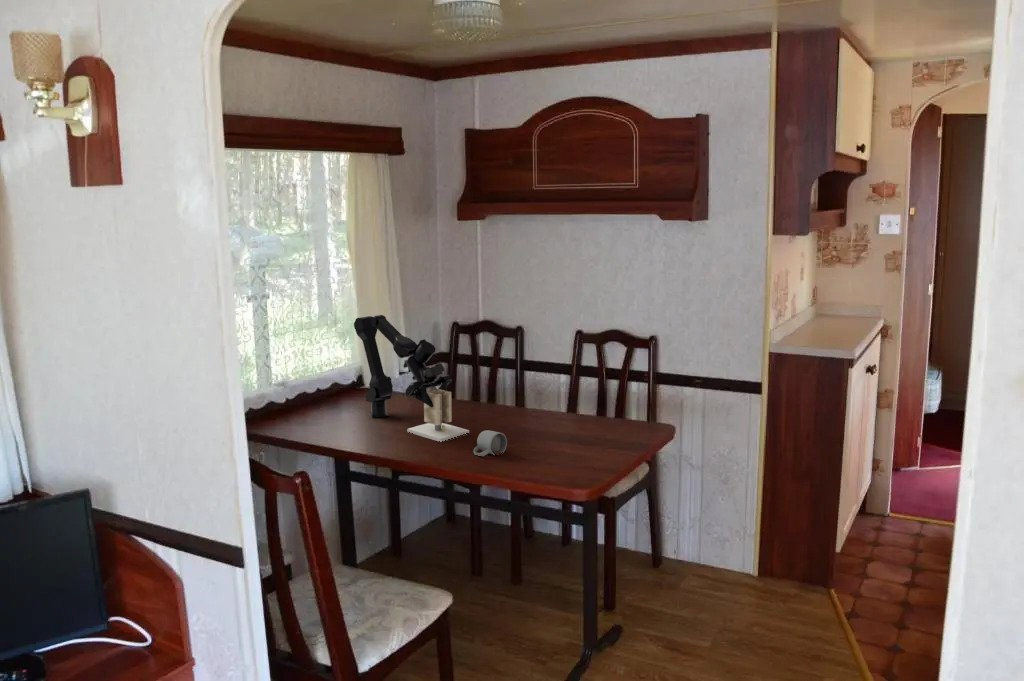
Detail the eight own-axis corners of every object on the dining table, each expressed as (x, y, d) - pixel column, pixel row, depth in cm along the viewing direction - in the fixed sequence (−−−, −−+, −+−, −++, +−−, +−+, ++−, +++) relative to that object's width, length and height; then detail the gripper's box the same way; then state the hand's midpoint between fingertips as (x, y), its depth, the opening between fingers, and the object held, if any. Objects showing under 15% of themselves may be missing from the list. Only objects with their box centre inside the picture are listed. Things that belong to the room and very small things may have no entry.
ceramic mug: (491, 447, 293) (491, 426, 292) (507, 452, 287) (507, 431, 286) (468, 454, 286) (467, 432, 284) (484, 460, 280) (483, 438, 279)
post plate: (407, 432, 311) (406, 418, 310) (435, 424, 321) (435, 410, 320) (441, 442, 299) (440, 427, 298) (469, 433, 309) (469, 419, 308)
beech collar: (424, 421, 309) (423, 392, 307) (438, 417, 314) (438, 388, 312) (437, 425, 304) (437, 395, 302) (451, 421, 309) (451, 392, 307)
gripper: (409, 361, 300) (431, 396, 295) (448, 353, 314) (469, 387, 309) (395, 379, 307) (416, 414, 302) (434, 370, 321) (454, 404, 315)
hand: (440, 404), depth 307 cm, fingers closed on beech collar, 7 cm apart
